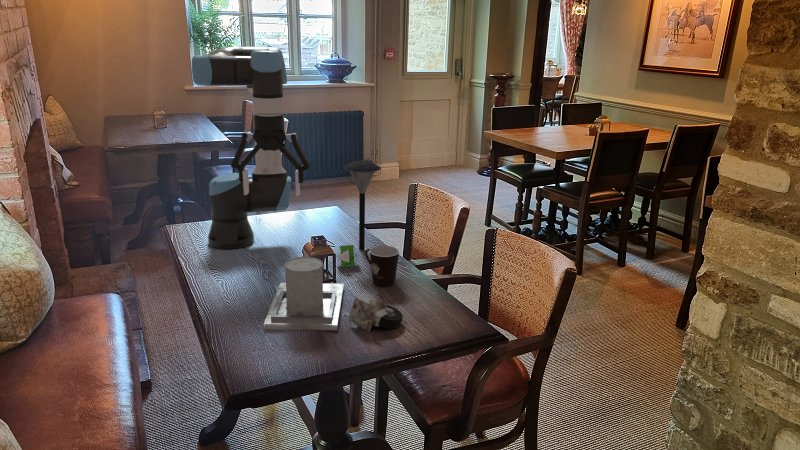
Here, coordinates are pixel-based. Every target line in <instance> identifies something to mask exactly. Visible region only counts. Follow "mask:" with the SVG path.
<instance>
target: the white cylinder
mask: <svg viewBox="0 0 800 450" xmlns="http://www.w3.org/2000/svg"><path fill="white" fill-rule="evenodd" d="M323 265H324V263H323V260H321V259H320V258H317V257H314V256H299V257H298V256H297V257H294V258H293V257H292V258H291V259H288V260H287V261H285V263H284V272H285V273H284V274H285V283H286V301H287V307H286V309H287V311H288V312H289V313H291V314H293V315H314V314H317V313H319V312H320V311H322V309H323V306H324V305H323V282H324V280H323V279H324V278H323V277H324V276H323V275H324V274H323V273H324V269H323Z"/></svg>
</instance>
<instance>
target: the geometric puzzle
mask: <svg viewBox="0 0 800 450" xmlns="http://www.w3.org/2000/svg"><path fill="white" fill-rule="evenodd" d="M339 251H340V252H337V254H336V255H335V258H336V259H339V260H337V261H338V263H339V265H340V268H348V267H349V268H350V267H351V268H352V267H356V263H357V260H355V259H358V257H359V256H360V255H359V253H357V251H356V248H355V245H354V244H346V245H339ZM354 251H355V252H354ZM340 262H341V263H340Z"/></svg>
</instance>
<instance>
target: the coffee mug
mask: <svg viewBox="0 0 800 450" xmlns="http://www.w3.org/2000/svg"><path fill="white" fill-rule="evenodd" d="M368 253H369V254H368ZM364 255H365V258H366V260H367V262H368V264H369V265H370V267H371V268H370V269H371V276H372V284H373V285H374V286H376V287H379V288H388V287H392V286H394V285H395V282H396V276H397V274H396V273H397V269H398V262H399V255H400V249H399V248H397V247H395V246H390V245H376V246H373V247H371V248H367V249H366V250H365V253H364ZM368 255H369V256H368ZM369 257H370V258H369Z"/></svg>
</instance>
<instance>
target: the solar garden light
mask: <svg viewBox="0 0 800 450" xmlns="http://www.w3.org/2000/svg"><path fill="white" fill-rule="evenodd" d="M343 169H344V170H345V171H348V172H350V176H351V178H352V180H353V182H354V184H355V186H356V188H357V191H358V192H359V193H358V194H359V197H358V198H359V207H358V211H359V215H358V220H359V221H358V224H359V225H358V231H359V232H358V250H359V251H365V247H366V245H365V244H366V243H365V241H366V240H365V238H366V237H365V235H366V231H365V229H366V228H365V227H366V191H367V189H368V187H369V185H370V183H371V181H372V179H373V177H374V174H375V172H378V171H380V170H381V169H382V167H381V166H379V165H378V164H376V163H374V162H372V161H370V160H353V161H352V162H350V163H348V164H347V165H344V166H343Z"/></svg>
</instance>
